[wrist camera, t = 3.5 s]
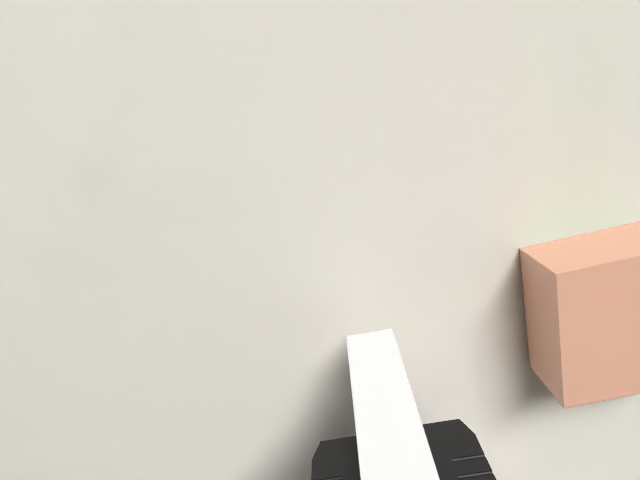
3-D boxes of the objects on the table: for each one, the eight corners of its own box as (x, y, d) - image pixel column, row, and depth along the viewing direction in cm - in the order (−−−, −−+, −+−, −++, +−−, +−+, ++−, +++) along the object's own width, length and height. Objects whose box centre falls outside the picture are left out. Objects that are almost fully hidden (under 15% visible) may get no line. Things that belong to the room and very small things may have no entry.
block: (526, 362, 15) (563, 408, 13) (515, 245, 14) (556, 274, 11) (657, 335, 15) (721, 377, 13) (661, 212, 13) (735, 234, 11)
